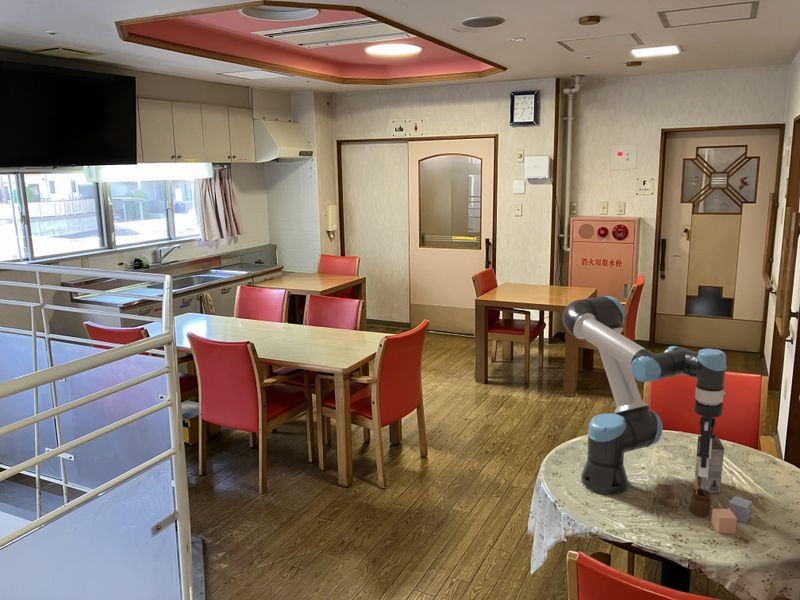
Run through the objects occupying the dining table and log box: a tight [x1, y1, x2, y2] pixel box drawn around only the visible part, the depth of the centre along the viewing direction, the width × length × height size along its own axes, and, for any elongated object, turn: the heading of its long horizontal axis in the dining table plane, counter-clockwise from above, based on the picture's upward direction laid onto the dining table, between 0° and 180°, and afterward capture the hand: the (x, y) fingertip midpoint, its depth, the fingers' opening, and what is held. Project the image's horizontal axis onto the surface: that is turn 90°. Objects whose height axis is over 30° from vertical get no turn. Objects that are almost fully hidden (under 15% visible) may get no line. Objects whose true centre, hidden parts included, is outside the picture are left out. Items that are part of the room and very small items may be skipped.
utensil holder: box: [689, 478, 712, 518], centre depth 203 cm, size 6×6×12 cm
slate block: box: [728, 496, 753, 524], centre depth 201 cm, size 5×5×5 cm
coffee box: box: [694, 435, 725, 494], centre depth 218 cm, size 9×6×16 cm
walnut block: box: [656, 483, 677, 508], centre depth 210 cm, size 5×5×5 cm
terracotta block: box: [710, 508, 738, 534], centre depth 195 cm, size 5×5×5 cm
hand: (704, 466), depth 200 cm, fingers open, 13 cm apart
